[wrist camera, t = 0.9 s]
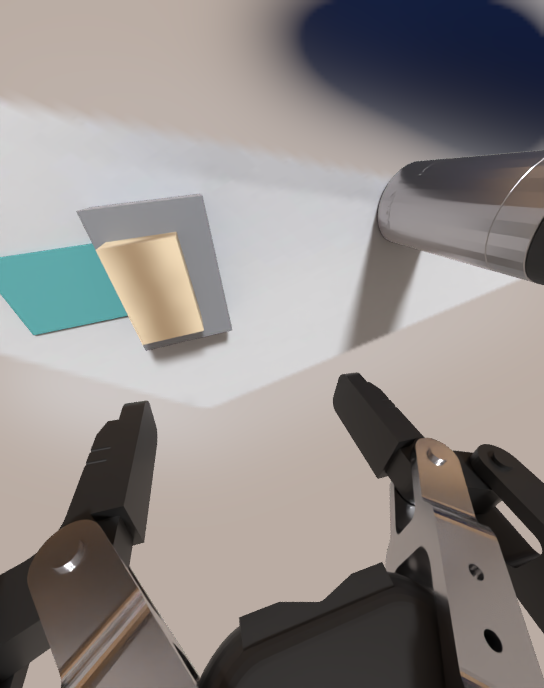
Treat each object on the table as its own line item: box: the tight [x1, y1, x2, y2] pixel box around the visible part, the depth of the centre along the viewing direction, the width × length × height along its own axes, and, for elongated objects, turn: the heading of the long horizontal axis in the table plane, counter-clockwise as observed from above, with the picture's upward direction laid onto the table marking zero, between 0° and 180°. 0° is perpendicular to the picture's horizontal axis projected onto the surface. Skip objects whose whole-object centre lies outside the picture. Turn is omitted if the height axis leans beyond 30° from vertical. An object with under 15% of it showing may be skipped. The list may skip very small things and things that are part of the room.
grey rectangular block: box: [76, 194, 232, 351], centre depth 26 cm, size 10×14×4 cm
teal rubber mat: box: [0, 244, 128, 335], centre depth 25 cm, size 10×8×1 cm
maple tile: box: [96, 232, 204, 345], centre depth 23 cm, size 6×9×3 cm, turn 6°
